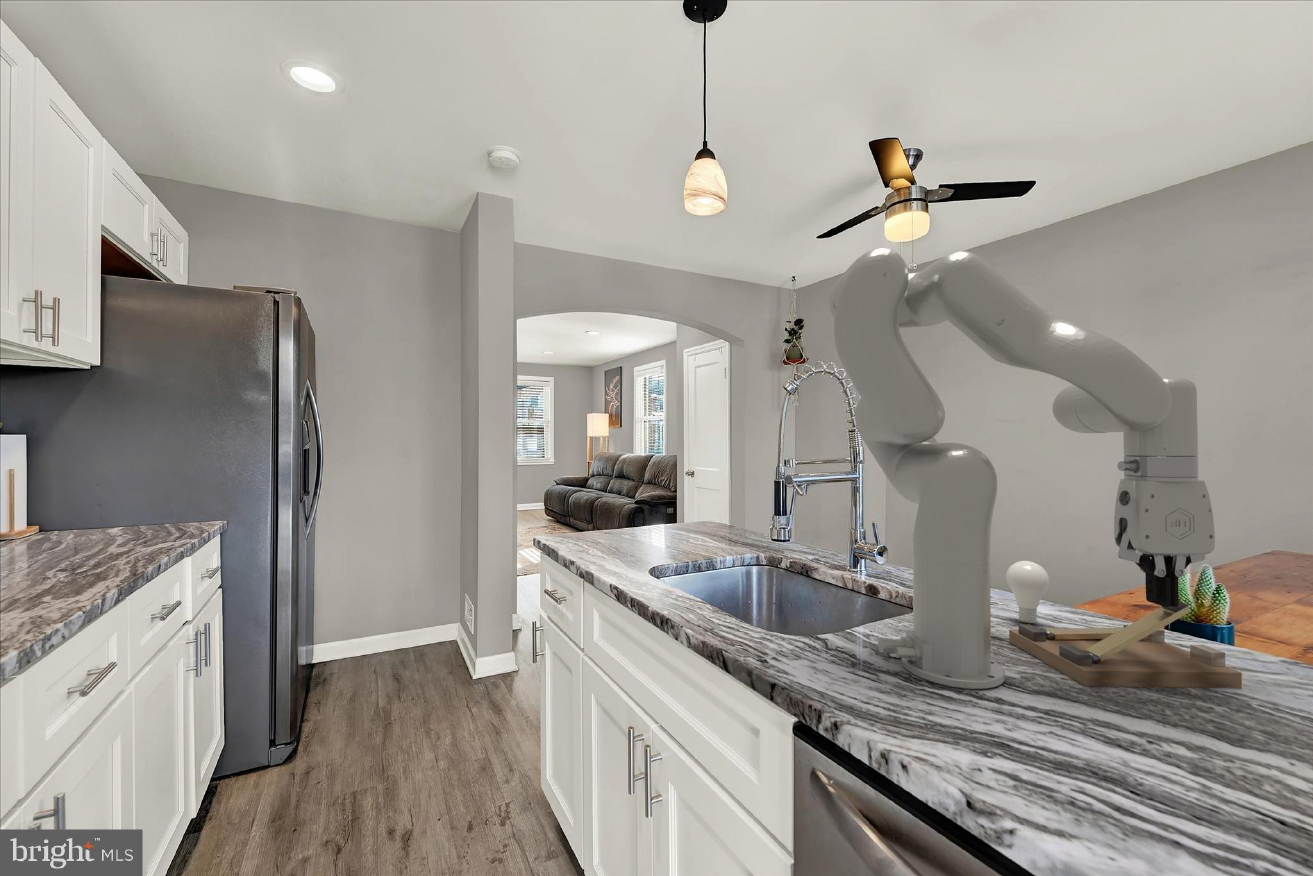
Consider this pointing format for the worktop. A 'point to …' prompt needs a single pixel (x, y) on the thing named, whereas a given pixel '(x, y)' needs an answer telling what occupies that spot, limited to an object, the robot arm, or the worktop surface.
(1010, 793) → the worktop surface
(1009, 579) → the lightbulb
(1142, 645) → the board
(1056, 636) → the back bar
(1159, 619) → the front bar
